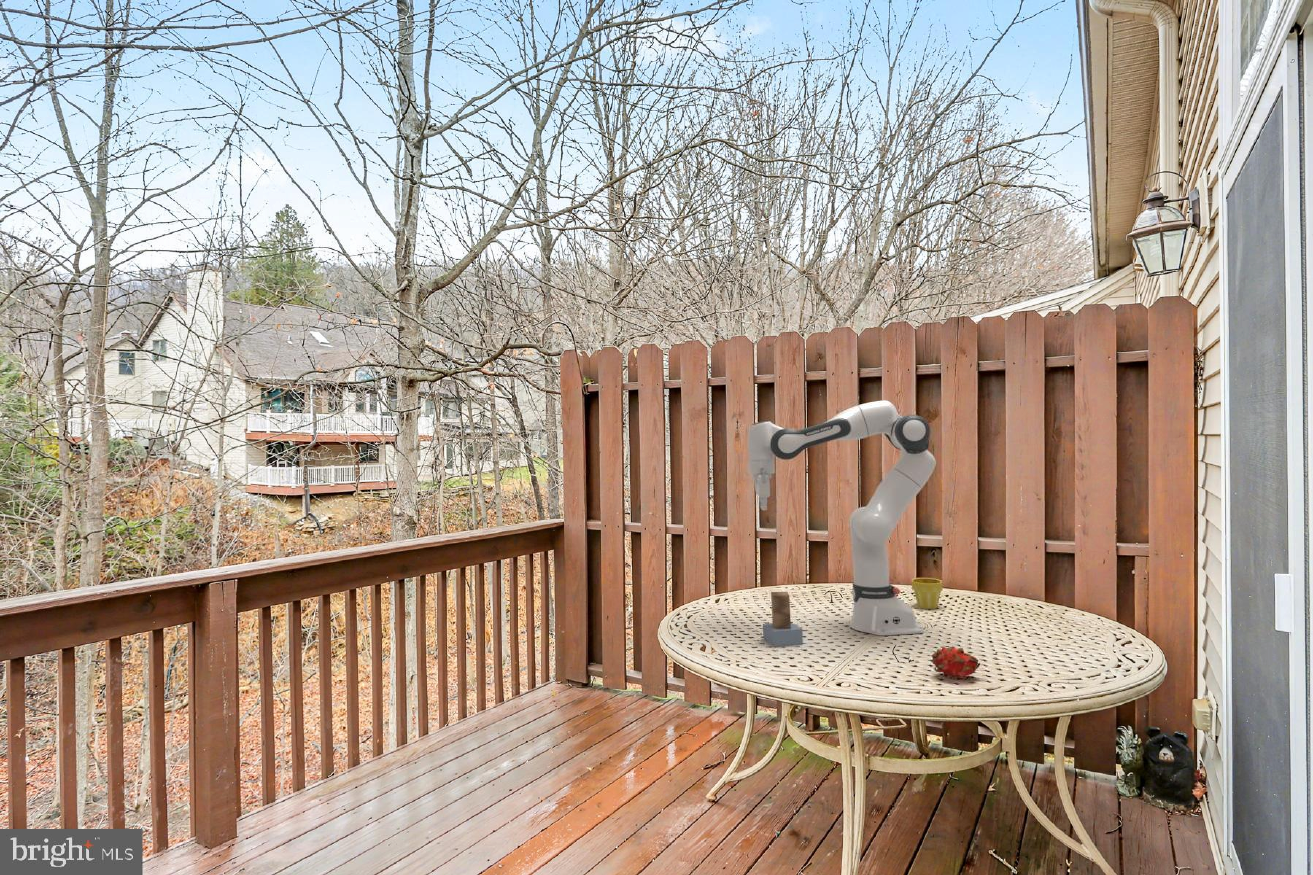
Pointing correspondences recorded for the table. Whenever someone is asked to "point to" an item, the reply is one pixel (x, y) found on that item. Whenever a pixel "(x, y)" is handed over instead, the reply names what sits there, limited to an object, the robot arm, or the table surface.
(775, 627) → the walnut block
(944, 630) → the table surface
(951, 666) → the dragon fruit
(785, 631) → the slate block
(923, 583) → the plant pot
